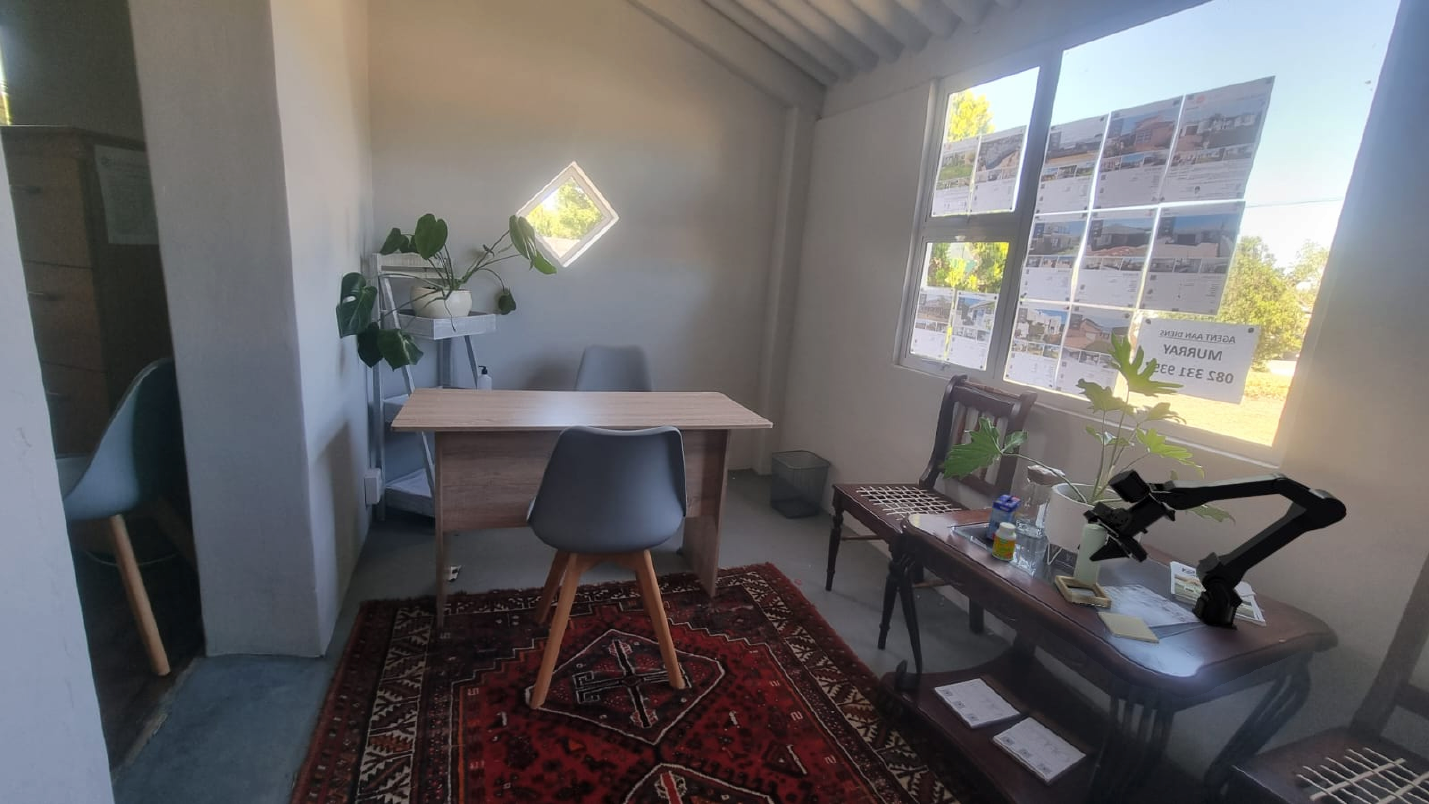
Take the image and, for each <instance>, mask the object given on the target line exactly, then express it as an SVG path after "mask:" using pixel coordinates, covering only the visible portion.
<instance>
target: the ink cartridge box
mask: <svg viewBox="0 0 1429 804" xmlns="http://www.w3.org/2000/svg"><path fill="white" fill-rule="evenodd" d="M1016 493H1017V492H1015V493H1014V494H1012V495H1008V494H1002V495H1001V496H1000V497H998V498H997V499H995V500H994V501H993V503H992V508H991V513H990V517H989V518H990V519H989V522H988V527H987V532H986V535H985V536H986V538H987V539H990V540H992V541H994V539H995V533H996V531H997V530H999V526H1000V523H1002V522H1005V523H1010V524H1013V525H1014V526H1015V527H1016V525H1017V521H1018V515H1019V512H1020V507H1021V502H1022V499H1020V498H1017V497H1015V495H1016Z"/></svg>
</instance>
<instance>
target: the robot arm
mask: <svg viewBox="0 0 1429 804" xmlns="http://www.w3.org/2000/svg"><path fill="white" fill-rule="evenodd" d="M1107 485H1108V486H1109V487H1110V488H1111V490H1113V492H1115V494H1116V495H1118V497H1119V498H1120V499H1121V500H1122V501H1123V502H1124V503H1129V504H1133V505H1131V506H1129V508H1127V509H1126V508H1124V507H1120V508H1119V507H1116V508H1115V509H1114V508H1113V507H1112V506H1110V505H1108V504H1106V503H1104V502H1102V501H1101V500H1099V501H1098V502H1097V503H1096V505H1095V506H1093V508H1092V509H1088V510H1086V511H1085V512H1084V513H1082V516H1083V517H1084V518H1085V519H1086V521H1087V522H1086V524H1094V525H1099V526H1101V527H1104V528H1106V529H1107V530H1108V533H1107V537H1108V538H1106V542H1105V545H1104V546H1103V547H1102V548H1100V549H1099V550H1098V551H1097V552H1095V553H1094V554H1093V555H1092V556H1091V557H1090V558H1089V559H1090V560H1091V561H1092V562H1094V561H1101V562H1102V561H1106V560H1115V559H1123V558H1124V559H1126V558H1127V559H1130V558H1131V557H1132V559H1134V560H1135V561H1136V562H1137V563H1139V564H1142V563H1143V562H1144V561H1146V560H1147V559H1148V556H1149V553H1148V552H1147V550H1146V549H1145V548H1144V547H1143V546H1142V545H1141V543H1140V542H1139V541H1138V540H1137V539H1136V538H1135V537H1136V536H1138V535H1140V533H1142V534H1143V535H1146V534H1148V533H1149V531H1148V530H1147V529H1148V528H1149V527H1151V526H1152V525H1153V524H1155V523H1157V522H1158V521H1160V520H1161V519H1163V518H1165V519H1166V520H1168V521H1170V522H1175V521H1176V511H1185V510H1190V509H1194V508H1198V507H1201V506H1203V505H1206V504H1208V503H1211V502H1216V501H1223V500H1235V499H1243V498H1252V497H1253V498H1254V497H1261V496H1262V497H1264V496H1271V495H1280V496H1283V497H1284V498H1285V499H1288V500H1289V501H1291V502H1292V503H1291V504H1290V506H1289V507H1288V509H1287V510H1286V513H1285V514H1284V515H1283V516H1282V517H1280V518H1278V520H1276V521H1275V522H1273V523H1271V524H1270V525H1268V526H1267V527H1266V528H1264V529H1262V530H1261V531H1260V532H1259V533H1257V534H1255V535H1254V536H1252V537H1251V538H1249V539H1248V540H1247V541H1245V542H1244V543H1242V544H1241V545H1239V546H1238V547H1236V548H1235V549H1233V550H1232V551H1230V552H1228V553H1225V554H1221V555H1218V554H1216V552H1215V551H1212V552H1210V553H1209V554H1208V555H1207V556H1206V557H1205V558H1203V559H1200V560H1198V563H1199V564H1197V565H1196V566H1195V567H1196V568H1195V575H1196V576H1197V578H1198V580H1199V582H1200V584H1201V585H1202V587H1203V589H1204V590H1205V591H1204V590H1202V591H1201V592H1200V595H1199V596H1198V597H1197V600H1196V602H1195V607H1193V608H1191V611H1192V612H1193V613H1194V614H1195V615H1196V616H1197V617H1198V618H1199V620H1201V621H1202V623H1204V624H1205V625H1207V626H1215V627H1220V628H1227V629H1232V630H1233V629H1234V630H1238V626H1237V625H1236V624H1235V623H1234V622H1235V618H1236V614H1237V611H1238V608H1239V607H1240V606H1241V605H1242V604H1243V603H1244V601H1243V599H1242V598H1241V595H1240V594H1239V593H1238V591H1237V590H1236V587H1238V585H1239V584H1240V583H1241V582H1242V580H1243V579H1244V576H1245V575H1246V573H1247V572H1248V571H1249V570H1250V569H1252V568H1253V567H1256V566H1257V565H1258V564H1259V563H1261V562H1262V561H1265V560H1266V559H1267V558H1269V557H1271V556H1272V555H1273V554H1275V553H1276V552H1278V551H1279V550H1281V549H1282V548H1284V547H1285V546H1287V545H1289V544H1290V543H1292V542H1294V541H1295V540H1296V539H1298V538H1300V536H1302V535H1304V534H1306V533H1309V532H1314V531H1317V530H1322V529H1325V528H1327V527H1330V526H1332V525H1334V524H1337V523H1339V522H1341V521H1342V520H1344V519H1345V518H1346V516H1347V506H1346V505H1345V503H1343V502H1342V501H1341V500H1340V499H1339V498H1337V497H1336V496H1334V495H1333V494H1331V493H1330V492H1328V491H1327V490H1325V489H1321V488H1315V489H1314V488H1310V487H1309V486H1307V485H1305V484H1303V483H1301V482H1298V481H1297V480H1293V479H1292V478H1289V477H1288V476H1287V475H1285V474H1284V473H1280V472H1272V473H1268V474H1263V475H1254V476H1247V477H1239V478H1238V477H1236V478H1229V479H1221V480H1212V481H1210V480H1209V481H1198V480H1190V479H1170V480H1167V481H1165V482H1147V481H1145V480H1144V479H1143V478H1142V477H1141V476H1140V474H1139V472H1138V471H1137V470H1136V469H1135V468H1132V469H1130V470H1126V471H1122V472H1117V474H1114V475H1113V476H1112V477H1111V478H1109V480H1108V481H1107ZM1167 506H1168V507H1167ZM1079 548H1080V543H1079V544H1078V546H1077V551H1079ZM1130 555H1131V557H1130Z"/></svg>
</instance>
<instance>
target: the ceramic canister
mask: <svg viewBox="0 0 1429 804" xmlns="http://www.w3.org/2000/svg"><path fill="white" fill-rule="evenodd" d="M1107 533H1108V530H1107V529H1106V528H1104V527H1101V526H1099V525H1094V524H1088V523H1086V524H1084V525H1083V529H1082V534H1081V539H1080V543H1079V544H1080V548H1079V550H1078V553H1077V557H1076V562H1075V566H1074V573H1073V578H1075V579H1076V580H1078V581H1080V582H1082V583H1086V584H1096V583H1098V579H1099V578H1098V577H1099V574H1100V569H1101V564H1102V560H1101V561H1094V562H1092V561H1091V560H1090V559H1089V558H1090V557H1091V556H1092V555H1093V554H1094V553H1095V552H1097V551H1098V550H1099V549H1100V548H1102V547H1103V546H1104V545H1106V543H1107V541H1106V539H1108V538H1107V537H1108V534H1107Z"/></svg>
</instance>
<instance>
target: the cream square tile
mask: <svg viewBox="0 0 1429 804" xmlns="http://www.w3.org/2000/svg"><path fill="white" fill-rule="evenodd" d="M1097 613H1098V614H1097V615H1098V616H1099V618H1100V619H1101V620H1102V622H1103V621H1104V622H1103V623H1104V625H1106V627H1107V629H1108V630H1109V629H1110V630H1109V632H1110V633H1111V634H1112V635H1113V637H1118V636H1120V637H1119V638H1125V639H1132V640H1136V641H1137V640H1139V641H1143V642H1150V643H1151V642H1152V643H1156V644H1157V643H1158V644H1159V642H1160V639H1159V638H1158V637H1157V636H1156V635H1155V634H1154V632H1152V630H1151V629H1150V627H1148V625H1146V623H1145V622H1144V621H1143V620H1142V619H1141V618H1140V617H1138V616H1130V615H1124V614H1117V613H1112V612H1103V611H1097Z"/></svg>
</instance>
